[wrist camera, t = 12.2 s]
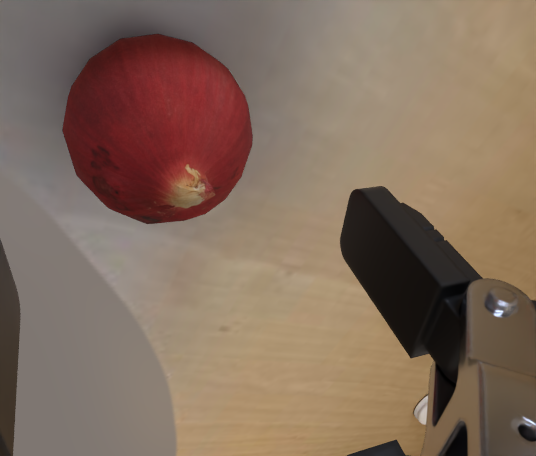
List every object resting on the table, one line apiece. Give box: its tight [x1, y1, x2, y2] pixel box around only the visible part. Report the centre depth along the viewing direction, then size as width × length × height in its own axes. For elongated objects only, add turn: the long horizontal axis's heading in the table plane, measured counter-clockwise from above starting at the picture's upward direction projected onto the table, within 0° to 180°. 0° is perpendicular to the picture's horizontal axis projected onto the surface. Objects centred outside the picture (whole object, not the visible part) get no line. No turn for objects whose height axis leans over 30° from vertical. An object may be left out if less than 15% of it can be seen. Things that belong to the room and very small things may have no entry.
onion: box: [62, 34, 253, 224], centre depth 16 cm, size 6×6×8 cm
